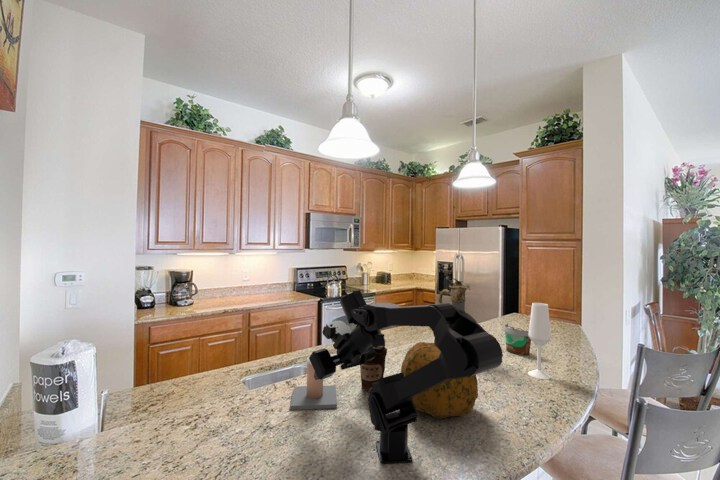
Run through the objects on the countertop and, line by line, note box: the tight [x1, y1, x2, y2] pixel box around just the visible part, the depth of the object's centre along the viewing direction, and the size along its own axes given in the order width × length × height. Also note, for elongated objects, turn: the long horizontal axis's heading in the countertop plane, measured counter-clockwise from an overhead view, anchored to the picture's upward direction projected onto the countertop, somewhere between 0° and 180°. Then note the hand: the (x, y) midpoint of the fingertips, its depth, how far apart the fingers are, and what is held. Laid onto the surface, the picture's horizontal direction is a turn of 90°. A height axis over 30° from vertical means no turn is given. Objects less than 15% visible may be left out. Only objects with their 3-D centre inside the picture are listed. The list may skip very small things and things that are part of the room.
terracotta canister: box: [306, 356, 324, 399], centre depth 87 cm, size 5×5×10 cm
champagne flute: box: [527, 302, 552, 380], centre depth 107 cm, size 7×7×24 cm
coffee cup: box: [359, 344, 388, 393], centre depth 94 cm, size 9×8×13 cm
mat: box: [289, 384, 338, 411], centre depth 87 cm, size 11×12×1 cm
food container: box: [503, 323, 532, 356], centre depth 129 cm, size 12×6×10 cm, turn 25°
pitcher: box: [438, 277, 477, 338], centre depth 127 cm, size 11×19×30 cm, turn 26°
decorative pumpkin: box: [400, 338, 479, 420], centre depth 84 cm, size 20×21×20 cm
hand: (328, 372), depth 83 cm, fingers open, 9 cm apart
